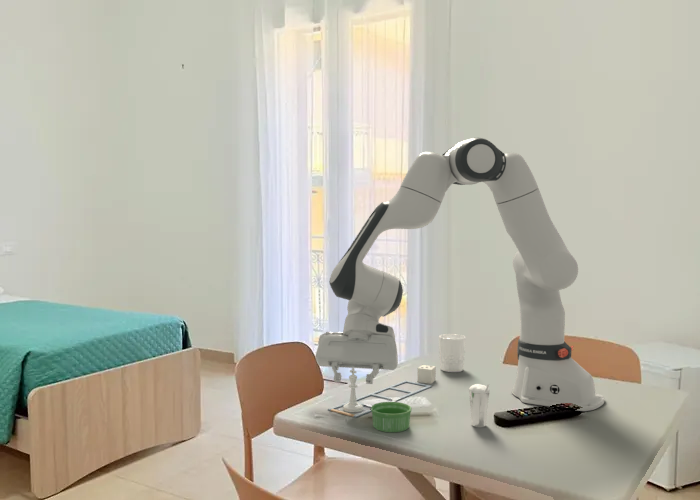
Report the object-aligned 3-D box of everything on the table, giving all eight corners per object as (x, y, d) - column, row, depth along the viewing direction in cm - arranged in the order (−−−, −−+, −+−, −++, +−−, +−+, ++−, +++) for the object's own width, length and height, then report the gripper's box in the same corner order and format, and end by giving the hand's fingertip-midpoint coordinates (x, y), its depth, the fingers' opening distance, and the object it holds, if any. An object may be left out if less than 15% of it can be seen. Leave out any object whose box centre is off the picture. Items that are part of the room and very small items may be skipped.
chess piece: (354, 413, 154) (354, 372, 153) (338, 409, 157) (338, 368, 156) (367, 408, 158) (367, 367, 157) (351, 404, 161) (351, 364, 160)
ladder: (431, 386, 176) (431, 385, 176) (356, 417, 151) (356, 416, 151) (405, 381, 182) (405, 380, 182) (328, 410, 156) (328, 408, 156)
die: (435, 380, 183) (435, 366, 183) (431, 384, 180) (431, 369, 179) (421, 378, 185) (422, 364, 185) (417, 382, 181) (417, 367, 181)
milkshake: (479, 431, 142) (480, 385, 142) (464, 423, 147) (464, 380, 146) (495, 427, 144) (496, 383, 144) (480, 420, 149) (481, 377, 148)
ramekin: (419, 428, 144) (419, 409, 144) (387, 436, 139) (387, 416, 139) (394, 417, 151) (394, 399, 151) (363, 425, 146) (363, 406, 146)
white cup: (438, 372, 192) (438, 338, 191) (438, 365, 199) (439, 333, 199) (465, 373, 190) (465, 339, 190) (465, 366, 198) (465, 334, 197)
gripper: (318, 324, 165) (308, 372, 156) (399, 327, 161) (393, 377, 152) (322, 338, 169) (313, 386, 160) (401, 342, 165) (396, 390, 156)
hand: (353, 381), depth 156 cm, fingers open, 6 cm apart
